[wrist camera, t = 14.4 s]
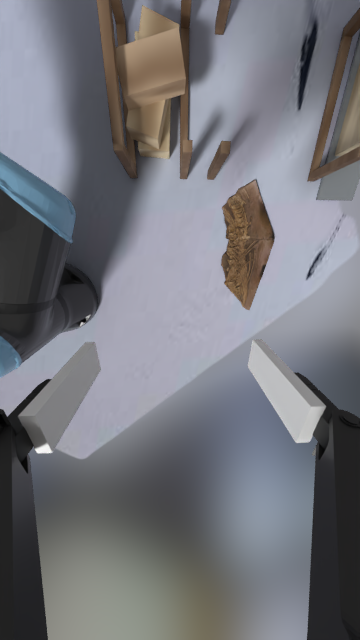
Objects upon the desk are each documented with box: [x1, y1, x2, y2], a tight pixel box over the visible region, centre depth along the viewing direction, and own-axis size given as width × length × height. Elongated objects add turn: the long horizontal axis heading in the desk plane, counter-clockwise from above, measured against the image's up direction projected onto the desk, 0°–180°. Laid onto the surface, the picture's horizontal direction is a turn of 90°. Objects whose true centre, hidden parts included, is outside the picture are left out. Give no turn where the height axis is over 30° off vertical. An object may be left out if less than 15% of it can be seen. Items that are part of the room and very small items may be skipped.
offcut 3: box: [135, 31, 171, 159], centre depth 27 cm, size 5×12×3 cm, turn 177°
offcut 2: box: [126, 5, 179, 149], centre depth 24 cm, size 5×11×3 cm, turn 163°
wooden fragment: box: [221, 180, 275, 310], centre depth 37 cm, size 26×11×1 cm, turn 5°
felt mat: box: [316, 34, 360, 200], centre depth 29 cm, size 7×24×1 cm, turn 0°
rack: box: [97, 0, 360, 181], centre depth 24 cm, size 34×18×10 cm, turn 90°
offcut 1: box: [115, 27, 186, 111], centre depth 22 cm, size 4×8×2 cm, turn 103°
